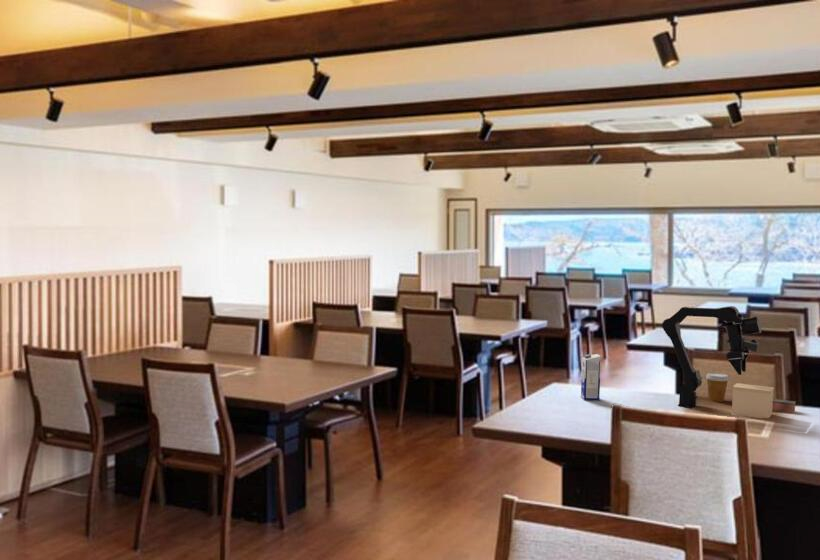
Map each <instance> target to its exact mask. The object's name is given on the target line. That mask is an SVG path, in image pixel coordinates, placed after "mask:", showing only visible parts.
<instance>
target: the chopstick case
mask: <svg viewBox="0 0 820 560" xmlns="http://www.w3.org/2000/svg"><path fill="white" fill-rule="evenodd" d="M796 403H797V401H795V400H786V399H779V398H773V405H772V412H780V413H787V414H794V413H795V412H796Z"/></svg>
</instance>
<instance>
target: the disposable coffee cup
mask: <svg viewBox="0 0 820 560" xmlns="http://www.w3.org/2000/svg"><path fill="white" fill-rule="evenodd" d="M705 378H706V384H707V395H708V401H711V402H716V403H722V402H725V397H726V391H727V386H728V381H729V380H730V378H729V376H728V374H725V373H720V372H717V373H716V372H709V373H708V372H707V374H706V376H705Z"/></svg>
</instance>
